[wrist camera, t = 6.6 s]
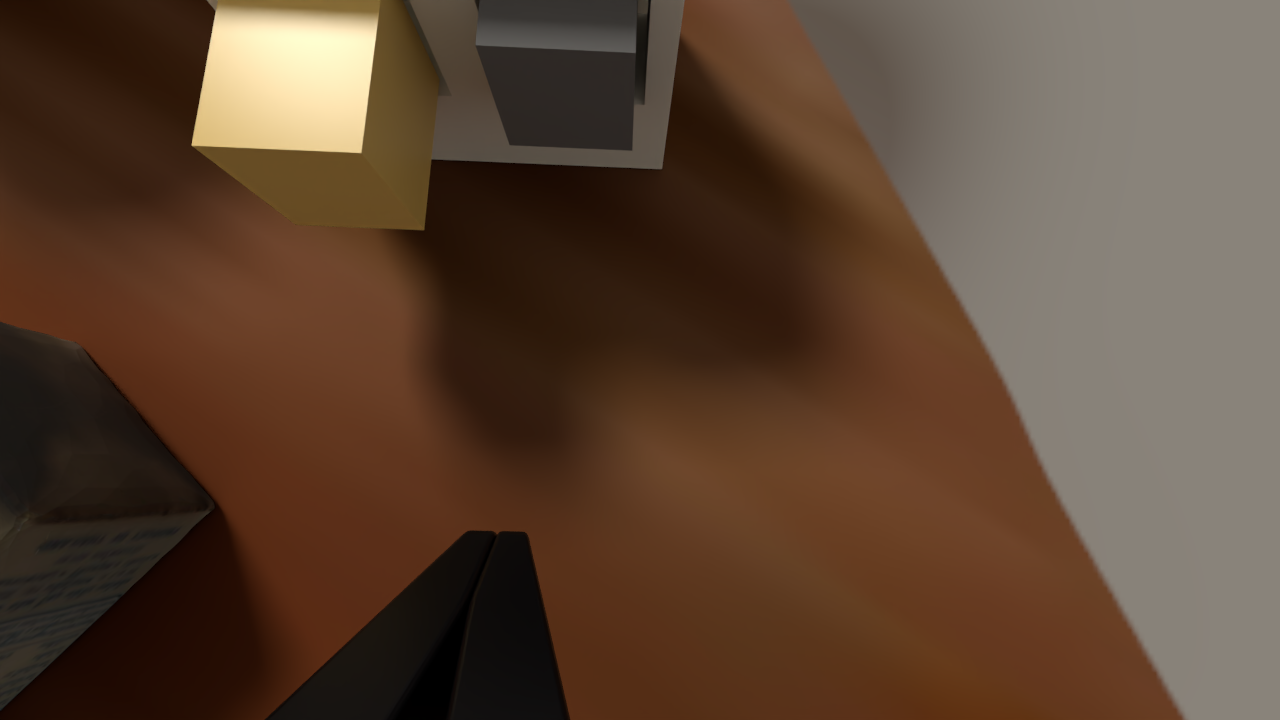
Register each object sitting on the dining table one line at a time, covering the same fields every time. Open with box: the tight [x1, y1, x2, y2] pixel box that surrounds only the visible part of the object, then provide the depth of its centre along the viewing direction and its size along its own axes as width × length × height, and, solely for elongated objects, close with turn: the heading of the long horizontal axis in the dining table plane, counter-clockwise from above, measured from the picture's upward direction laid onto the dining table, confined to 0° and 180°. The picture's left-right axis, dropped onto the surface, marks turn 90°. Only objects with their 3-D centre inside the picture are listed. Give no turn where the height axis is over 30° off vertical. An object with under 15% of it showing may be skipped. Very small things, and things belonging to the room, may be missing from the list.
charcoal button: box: [475, 0, 638, 151], centre depth 15 cm, size 4×3×4 cm
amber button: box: [191, 0, 440, 230], centre depth 15 cm, size 4×3×4 cm
